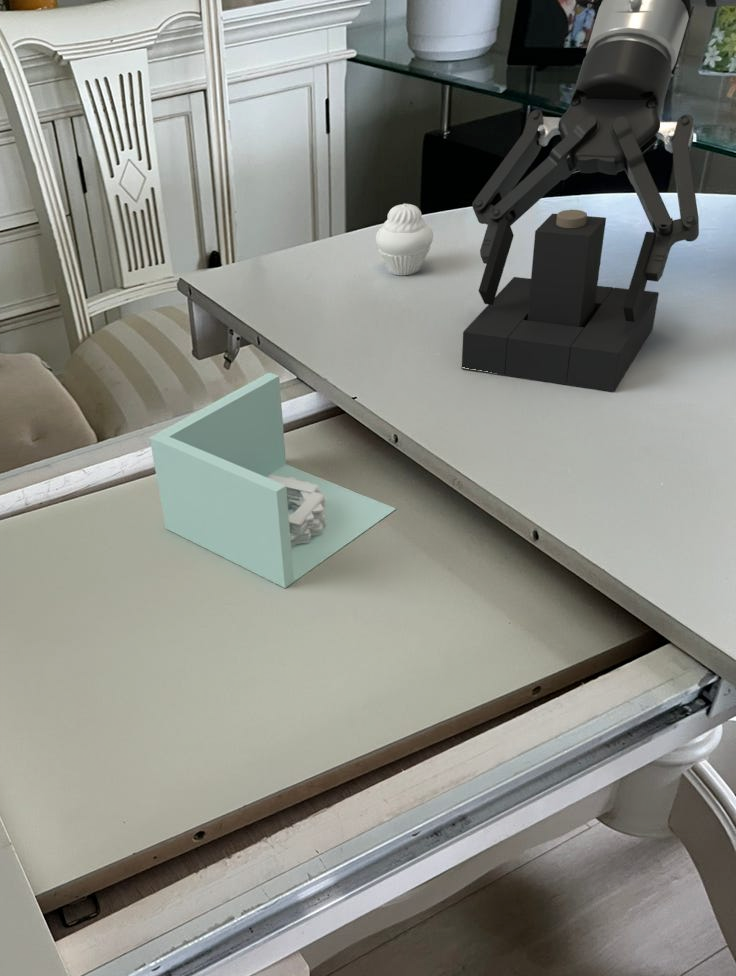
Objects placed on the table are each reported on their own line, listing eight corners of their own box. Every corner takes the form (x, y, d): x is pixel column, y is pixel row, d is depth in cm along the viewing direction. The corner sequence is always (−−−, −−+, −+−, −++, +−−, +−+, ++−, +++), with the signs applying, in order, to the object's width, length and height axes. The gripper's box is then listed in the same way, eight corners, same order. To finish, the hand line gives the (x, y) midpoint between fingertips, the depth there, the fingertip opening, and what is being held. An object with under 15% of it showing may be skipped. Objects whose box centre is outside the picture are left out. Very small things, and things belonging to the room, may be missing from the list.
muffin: (364, 275, 108) (363, 208, 104) (396, 256, 112) (396, 191, 107) (412, 284, 105) (413, 216, 101) (443, 265, 109) (445, 198, 104)
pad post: (590, 342, 91) (607, 207, 83) (575, 362, 88) (591, 225, 80) (540, 335, 93) (553, 203, 85) (524, 355, 90) (535, 220, 82)
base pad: (652, 329, 92) (659, 292, 89) (613, 392, 83) (620, 352, 81) (511, 312, 97) (513, 276, 95) (461, 369, 89) (463, 331, 87)
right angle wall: (285, 588, 66) (276, 491, 62) (165, 528, 73) (149, 437, 69) (396, 508, 73) (396, 415, 68) (276, 460, 79) (268, 372, 75)
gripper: (484, 34, 87) (413, 271, 87) (783, 34, 77) (702, 303, 77) (501, 88, 94) (434, 308, 94) (777, 94, 84) (703, 341, 84)
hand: (555, 306), depth 85 cm, fingers open, 12 cm apart
